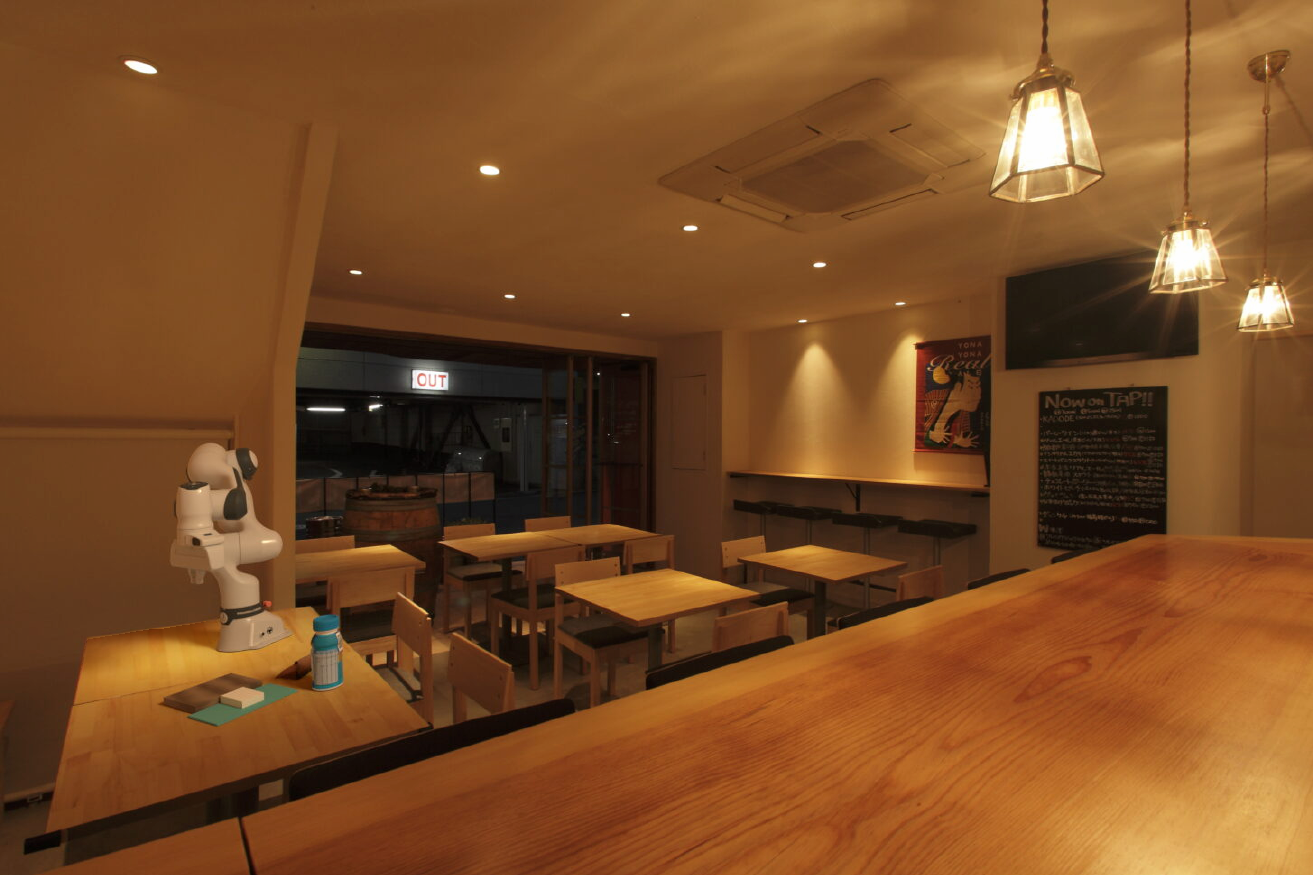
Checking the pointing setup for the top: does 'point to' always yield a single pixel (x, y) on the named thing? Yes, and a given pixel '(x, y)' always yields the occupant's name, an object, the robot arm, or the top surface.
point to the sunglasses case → (296, 669)
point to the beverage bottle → (326, 653)
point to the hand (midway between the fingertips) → (197, 583)
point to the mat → (227, 713)
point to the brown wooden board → (209, 692)
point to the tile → (242, 697)
